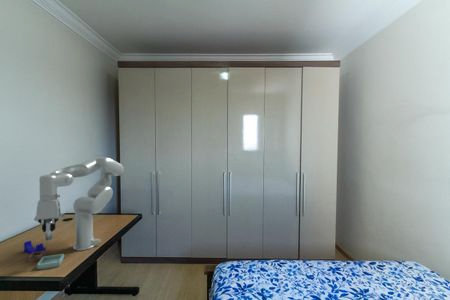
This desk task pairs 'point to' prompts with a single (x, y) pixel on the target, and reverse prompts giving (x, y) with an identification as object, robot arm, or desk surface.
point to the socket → (36, 256)
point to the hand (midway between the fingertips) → (48, 230)
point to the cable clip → (29, 248)
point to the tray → (50, 261)
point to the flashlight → (48, 229)
